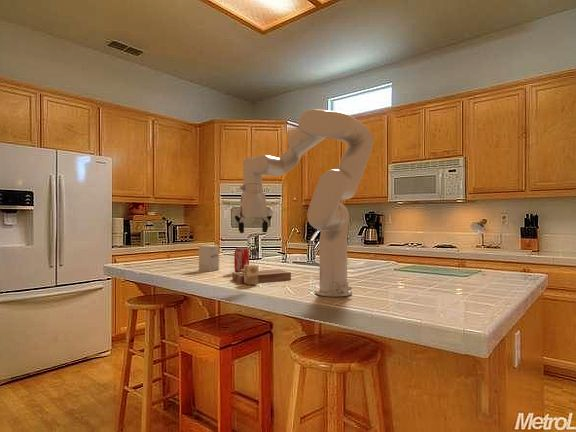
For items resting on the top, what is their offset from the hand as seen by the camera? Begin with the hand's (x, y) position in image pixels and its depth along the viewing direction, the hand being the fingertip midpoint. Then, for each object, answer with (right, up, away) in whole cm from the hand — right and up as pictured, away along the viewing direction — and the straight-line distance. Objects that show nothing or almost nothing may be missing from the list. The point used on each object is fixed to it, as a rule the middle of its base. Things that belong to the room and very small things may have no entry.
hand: (253, 232), depth 146 cm
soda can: (-9, -21, +32) cm, 39 cm away
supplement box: (-26, -21, +41) cm, 53 cm away
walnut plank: (+2, -21, +11) cm, 24 cm away
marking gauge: (-2, -20, +3) cm, 20 cm away
